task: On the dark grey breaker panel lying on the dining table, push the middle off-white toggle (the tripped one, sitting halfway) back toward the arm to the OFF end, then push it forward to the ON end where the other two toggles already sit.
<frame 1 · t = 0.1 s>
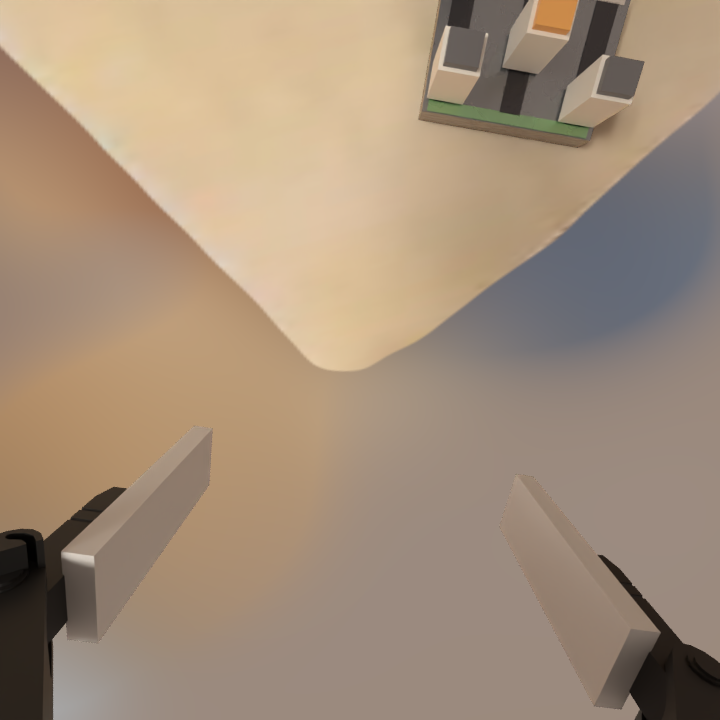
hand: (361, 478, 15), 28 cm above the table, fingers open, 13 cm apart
breaker 2: (539, 32, 29), point 5 cm above the table, slide at 0.0 cm
panel: (514, 65, 34), on the table
breaker 3: (599, 92, 31), point 5 cm above the table, slide at 3.5 cm
breaker 1: (455, 66, 30), point 5 cm above the table, slide at 3.5 cm
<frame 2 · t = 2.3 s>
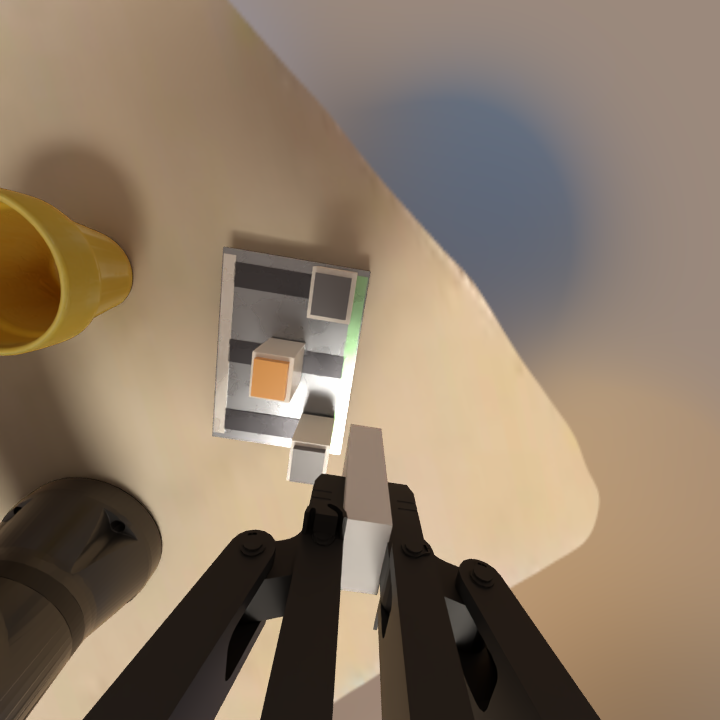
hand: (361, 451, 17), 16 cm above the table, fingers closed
breaker 2: (278, 369, 27), point 5 cm above the table, slide at 0.0 cm
panel: (290, 353, 32), on the table
breaker 3: (333, 293, 26), point 5 cm above the table, slide at 3.5 cm
plant pot: (98, 271, 31), on the table
breaker 1: (311, 448, 29), point 5 cm above the table, slide at 3.5 cm
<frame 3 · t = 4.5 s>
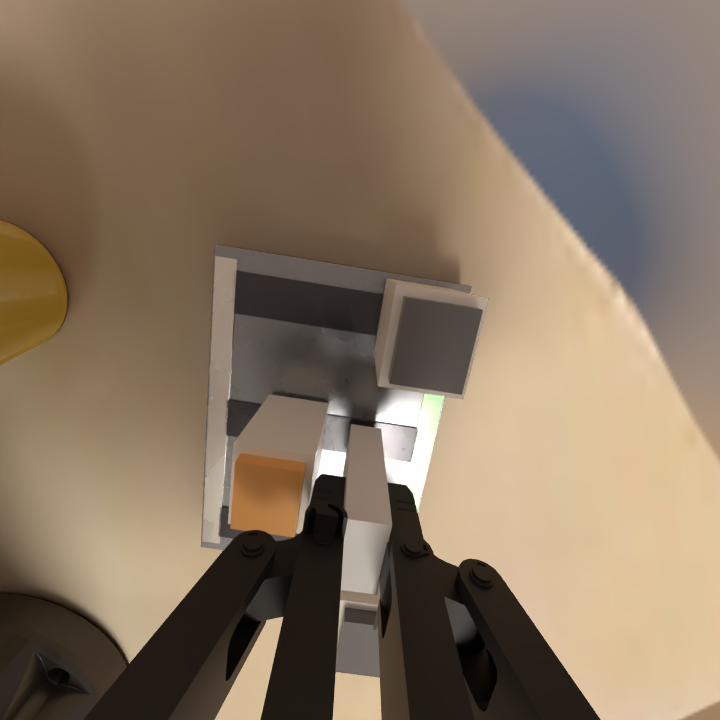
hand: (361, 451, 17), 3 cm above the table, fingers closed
breaker 2: (283, 459, 15), point 5 cm above the table, slide at -1.3 cm, touching gripper
panel: (325, 415, 20), on the table
breaker 3: (420, 331, 14), point 5 cm above the table, slide at 3.5 cm
plant pot: (13, 287, 19), on the table
breaker 1: (367, 589, 17), point 5 cm above the table, slide at 3.5 cm
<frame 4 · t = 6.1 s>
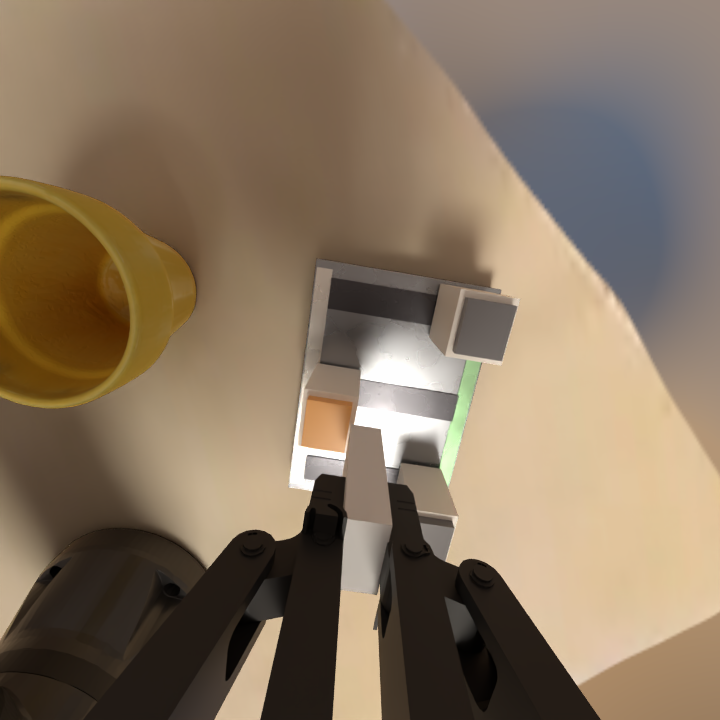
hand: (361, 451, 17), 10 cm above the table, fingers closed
breaker 2: (331, 406, 21), point 5 cm above the table, slide at -3.6 cm
panel: (384, 387, 26), on the table
breaker 3: (469, 321, 20), point 5 cm above the table, slide at 3.5 cm
plant pot: (154, 288, 25), on the table
breaker 1: (422, 511, 23), point 5 cm above the table, slide at 3.5 cm
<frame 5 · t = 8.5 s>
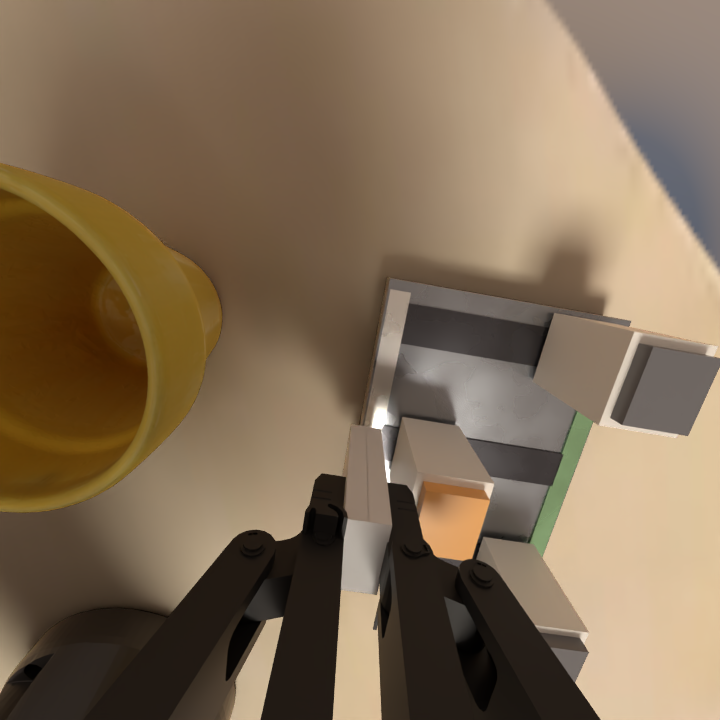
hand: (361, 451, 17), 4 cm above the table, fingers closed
breaker 2: (434, 482, 16), point 5 cm above the table, slide at -2.6 cm, touching gripper
panel: (458, 438, 21), on the table
breaker 3: (612, 369, 14), point 5 cm above the table, slide at 3.5 cm
plant pot: (166, 312, 19), on the table
breaker 1: (521, 610, 18), point 5 cm above the table, slide at 3.5 cm
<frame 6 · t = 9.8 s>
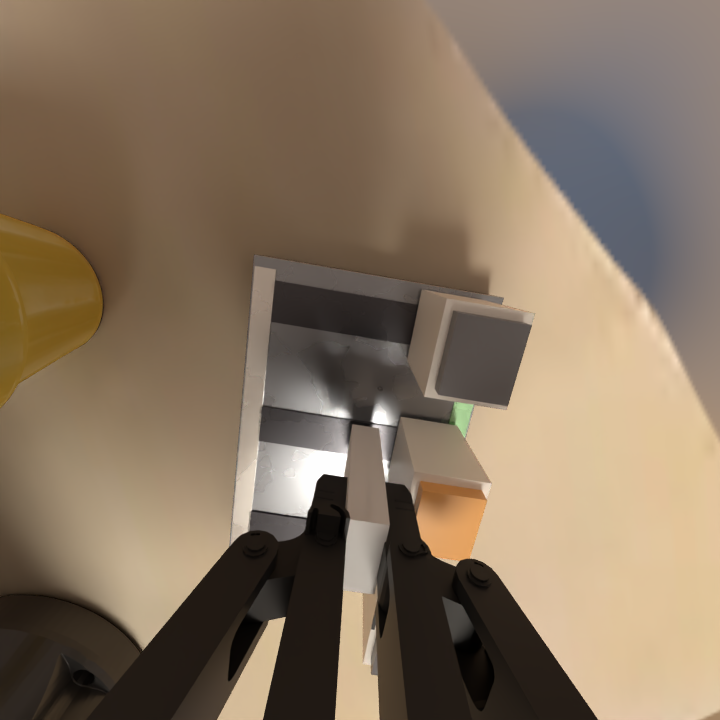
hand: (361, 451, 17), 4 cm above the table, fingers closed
breaker 2: (431, 482, 16), point 5 cm above the table, slide at 3.8 cm, touching gripper
panel: (352, 421, 20), on the table
breaker 3: (460, 343, 14), point 5 cm above the table, slide at 3.5 cm
plant pot: (49, 293, 19), on the table
breaker 1: (398, 593, 17), point 5 cm above the table, slide at 3.5 cm
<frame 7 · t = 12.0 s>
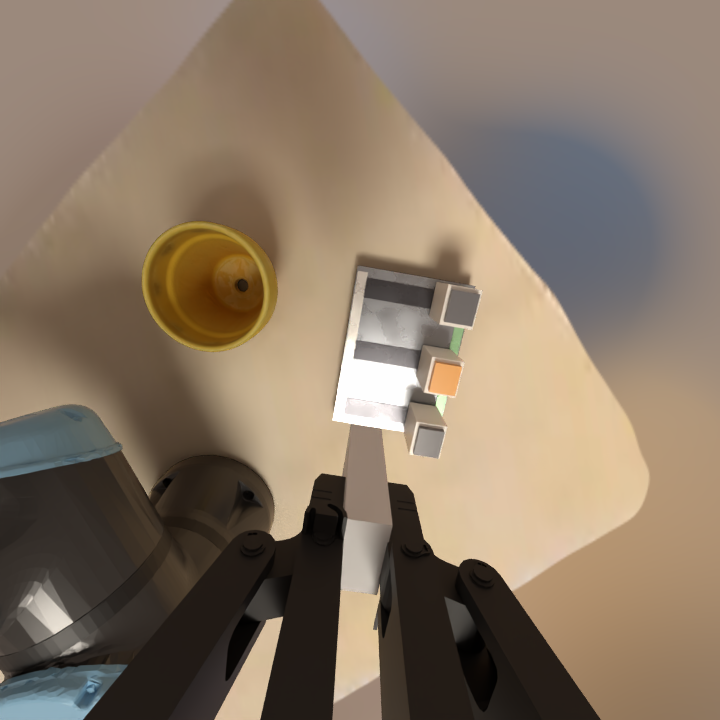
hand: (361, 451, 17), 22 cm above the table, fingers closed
breaker 2: (438, 370, 34), point 5 cm above the table, slide at 3.6 cm
panel: (398, 352, 39), on the table
breaker 3: (454, 304, 32), point 5 cm above the table, slide at 3.5 cm
plant pot: (245, 283, 37), on the table
breaker 1: (424, 430, 36), point 5 cm above the table, slide at 3.5 cm
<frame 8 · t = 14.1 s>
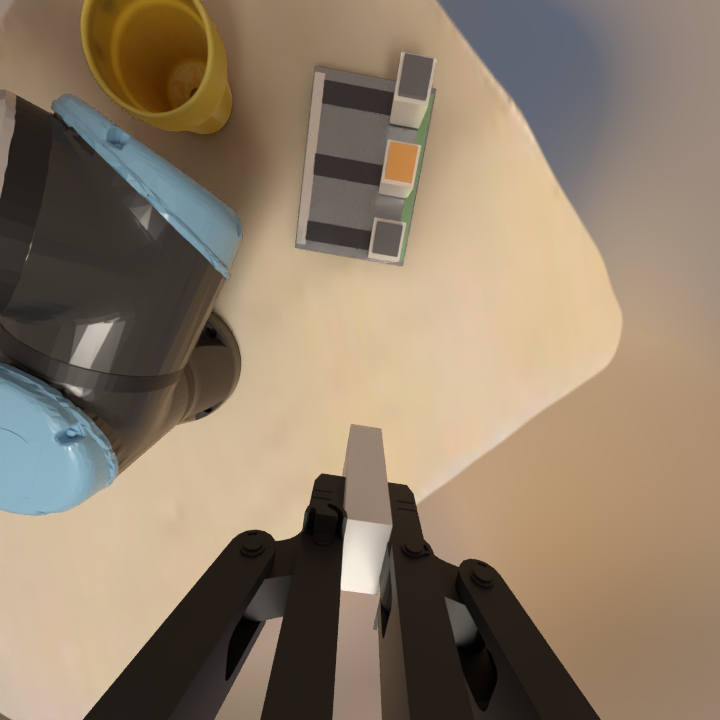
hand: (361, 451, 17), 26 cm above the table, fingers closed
breaker 2: (398, 170, 33), point 5 cm above the table, slide at 3.6 cm
panel: (361, 177, 38), on the table
breaker 3: (411, 92, 31), point 5 cm above the table, slide at 3.5 cm
plant pot: (203, 100, 36), on the table
breaker 1: (385, 241, 35), point 5 cm above the table, slide at 3.5 cm
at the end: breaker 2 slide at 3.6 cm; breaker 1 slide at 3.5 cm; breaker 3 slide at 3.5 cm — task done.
